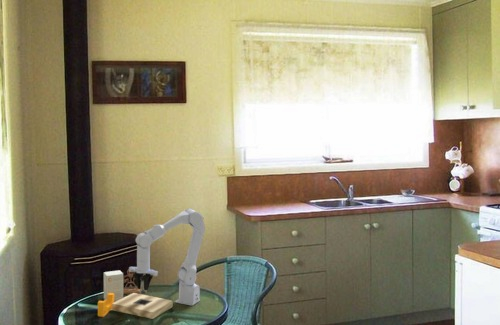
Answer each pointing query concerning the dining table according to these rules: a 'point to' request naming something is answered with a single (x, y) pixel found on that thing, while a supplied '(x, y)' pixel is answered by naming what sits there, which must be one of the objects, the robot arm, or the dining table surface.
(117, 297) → the small box
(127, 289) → the brown openwork frame
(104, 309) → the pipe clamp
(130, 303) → the block
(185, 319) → the dining table surface
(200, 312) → the dining table surface
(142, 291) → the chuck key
